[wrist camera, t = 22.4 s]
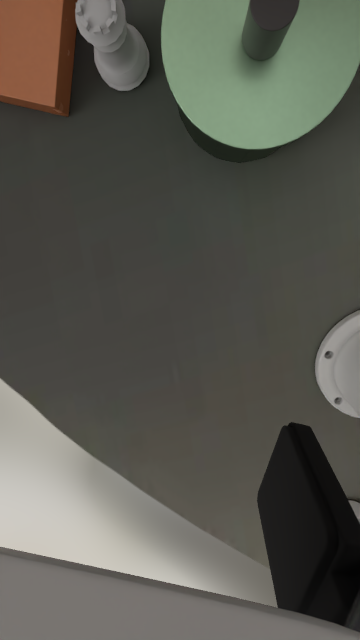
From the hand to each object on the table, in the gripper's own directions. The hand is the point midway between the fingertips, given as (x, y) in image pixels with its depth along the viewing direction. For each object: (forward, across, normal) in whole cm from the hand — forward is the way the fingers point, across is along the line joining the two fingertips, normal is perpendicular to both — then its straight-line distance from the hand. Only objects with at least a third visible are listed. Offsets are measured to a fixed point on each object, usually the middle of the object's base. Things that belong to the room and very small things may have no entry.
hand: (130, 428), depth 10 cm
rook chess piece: (+24, +8, -17) cm, 31 cm away
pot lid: (+16, -2, -17) cm, 23 cm away
